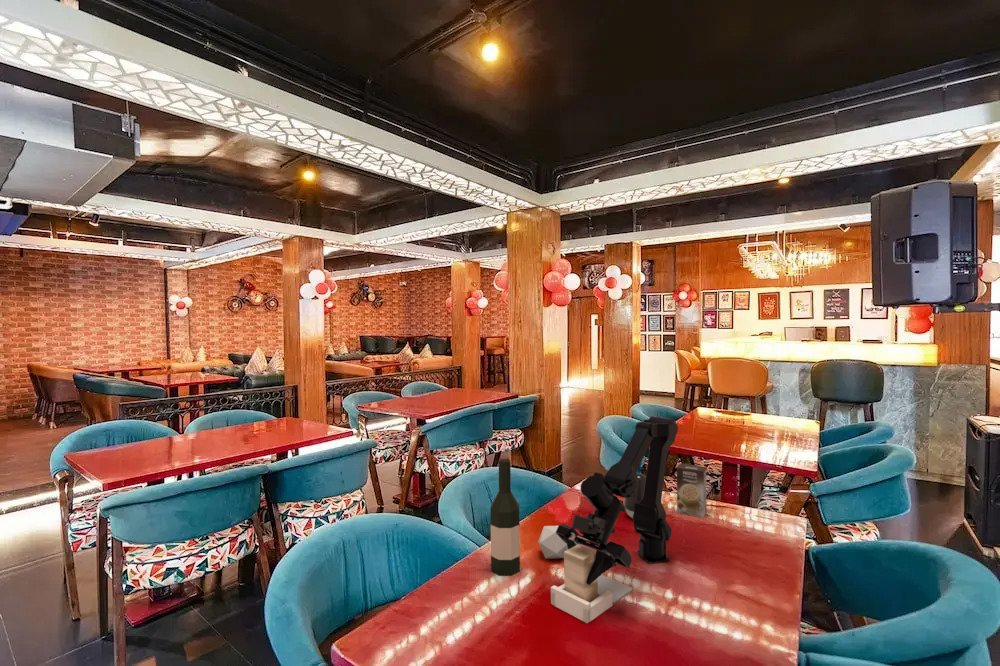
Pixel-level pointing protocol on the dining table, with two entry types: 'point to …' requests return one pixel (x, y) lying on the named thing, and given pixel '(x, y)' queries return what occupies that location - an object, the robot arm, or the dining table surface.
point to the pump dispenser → (635, 495)
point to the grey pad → (612, 588)
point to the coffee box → (691, 490)
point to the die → (552, 543)
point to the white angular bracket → (580, 604)
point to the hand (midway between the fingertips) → (577, 579)
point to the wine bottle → (505, 526)
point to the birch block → (580, 572)
